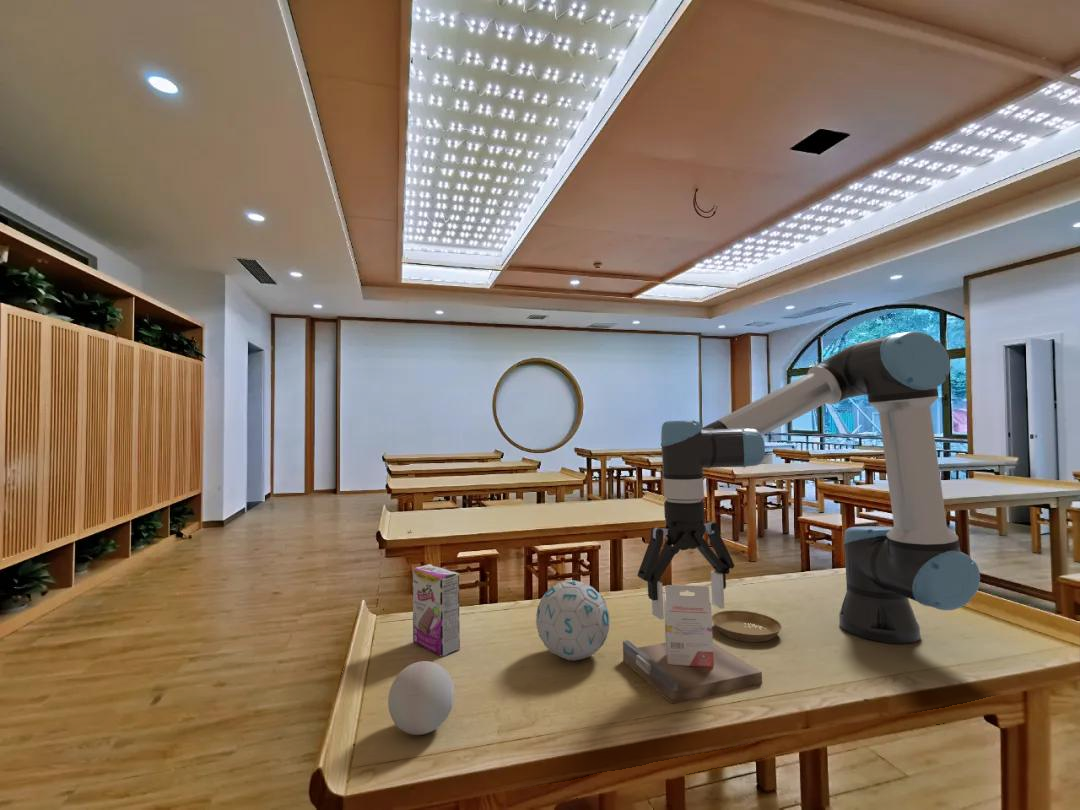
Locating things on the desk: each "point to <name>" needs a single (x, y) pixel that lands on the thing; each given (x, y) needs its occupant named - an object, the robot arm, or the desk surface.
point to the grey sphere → (421, 698)
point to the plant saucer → (734, 625)
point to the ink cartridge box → (688, 626)
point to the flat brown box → (689, 672)
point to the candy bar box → (436, 609)
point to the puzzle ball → (572, 620)
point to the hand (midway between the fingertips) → (688, 611)
